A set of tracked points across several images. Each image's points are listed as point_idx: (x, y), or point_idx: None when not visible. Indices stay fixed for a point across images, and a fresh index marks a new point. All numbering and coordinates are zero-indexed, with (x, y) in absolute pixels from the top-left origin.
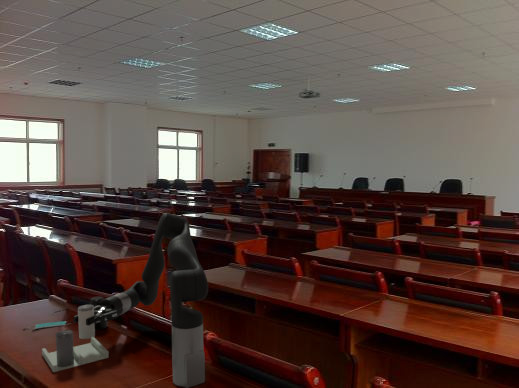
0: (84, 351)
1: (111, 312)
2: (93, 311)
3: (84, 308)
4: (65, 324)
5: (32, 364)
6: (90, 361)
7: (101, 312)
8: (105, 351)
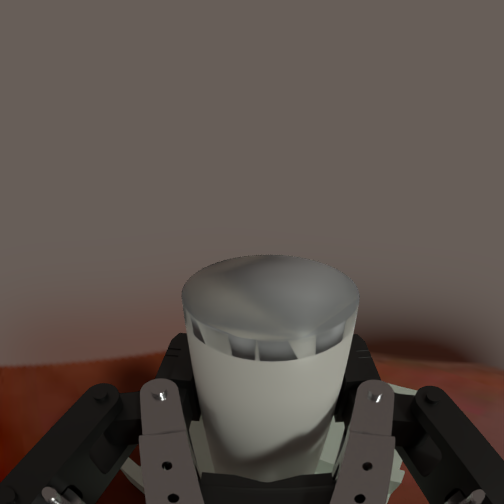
0: None
1: (35, 457)
2: (189, 348)
3: (251, 269)
4: None
5: (384, 380)
6: None
7: (142, 442)
8: (131, 463)
